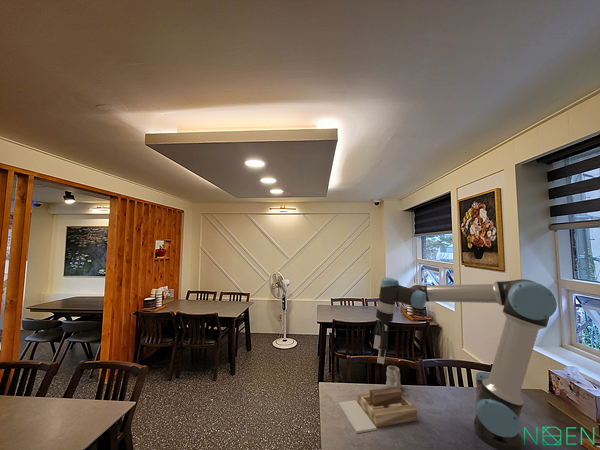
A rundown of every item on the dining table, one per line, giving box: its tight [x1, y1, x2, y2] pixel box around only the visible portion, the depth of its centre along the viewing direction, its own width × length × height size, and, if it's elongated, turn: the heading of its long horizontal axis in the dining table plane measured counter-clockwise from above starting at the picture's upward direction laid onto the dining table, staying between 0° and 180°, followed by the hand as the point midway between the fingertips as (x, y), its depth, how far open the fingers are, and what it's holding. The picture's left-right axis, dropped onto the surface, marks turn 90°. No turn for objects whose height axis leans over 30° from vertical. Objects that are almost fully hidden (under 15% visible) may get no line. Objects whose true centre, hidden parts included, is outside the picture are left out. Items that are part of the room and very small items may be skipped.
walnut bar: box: [369, 387, 403, 407], centre depth 110 cm, size 4×14×5 cm, turn 103°
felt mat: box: [338, 399, 378, 434], centre depth 106 cm, size 19×9×1 cm, turn 13°
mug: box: [385, 365, 402, 391], centre depth 128 cm, size 8×12×12 cm, turn 175°
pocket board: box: [357, 391, 418, 428], centre depth 110 cm, size 16×20×4 cm
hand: (378, 355), depth 113 cm, fingers open, 13 cm apart
